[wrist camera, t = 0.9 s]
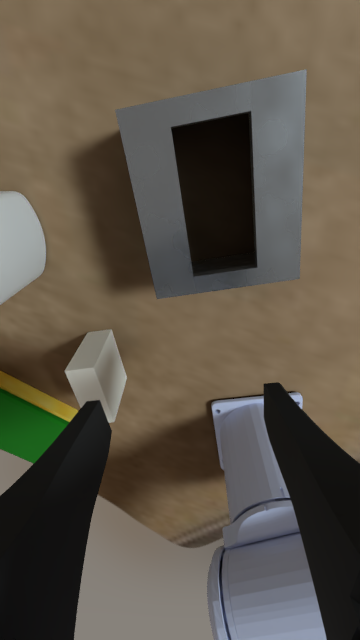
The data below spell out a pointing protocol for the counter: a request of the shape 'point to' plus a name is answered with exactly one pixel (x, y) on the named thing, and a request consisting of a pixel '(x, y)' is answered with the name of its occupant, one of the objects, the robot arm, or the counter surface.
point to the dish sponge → (29, 418)
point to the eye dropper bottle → (19, 244)
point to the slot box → (266, 173)
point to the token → (98, 372)
